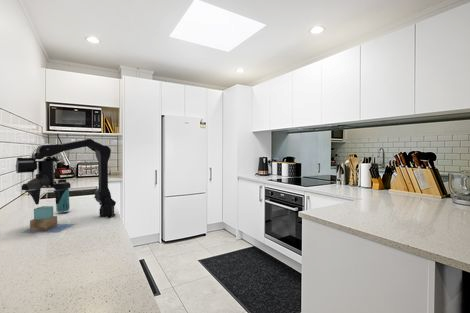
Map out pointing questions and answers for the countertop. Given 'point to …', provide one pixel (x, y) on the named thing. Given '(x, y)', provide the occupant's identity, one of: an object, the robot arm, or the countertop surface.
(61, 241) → the countertop surface
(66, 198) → the beverage bottle
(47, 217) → the teal cube
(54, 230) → the blue flat board
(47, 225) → the walnut base block
